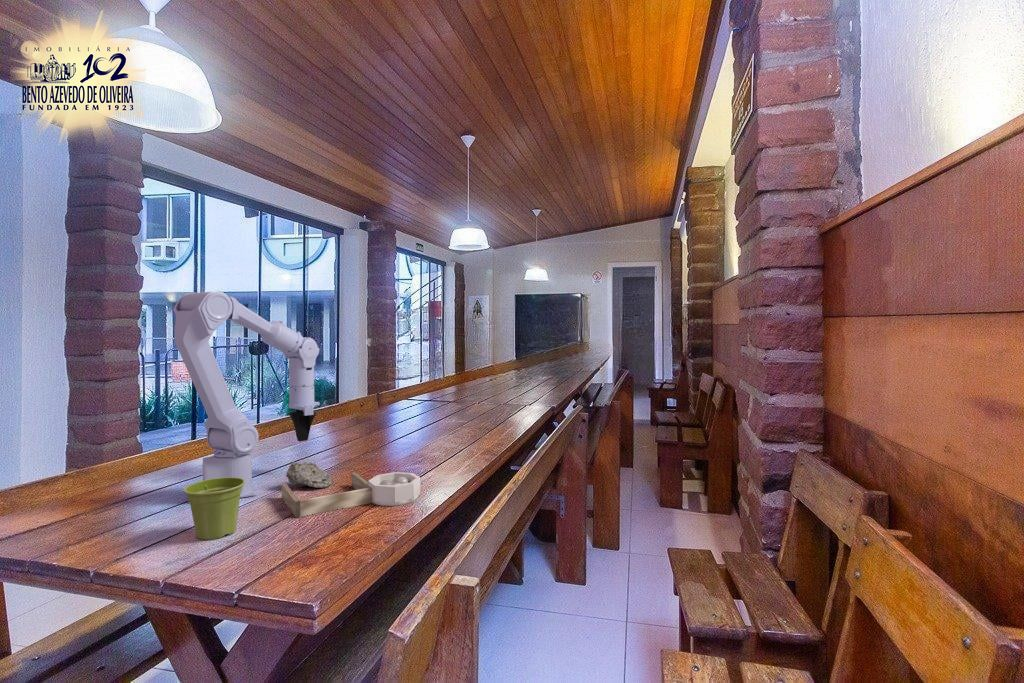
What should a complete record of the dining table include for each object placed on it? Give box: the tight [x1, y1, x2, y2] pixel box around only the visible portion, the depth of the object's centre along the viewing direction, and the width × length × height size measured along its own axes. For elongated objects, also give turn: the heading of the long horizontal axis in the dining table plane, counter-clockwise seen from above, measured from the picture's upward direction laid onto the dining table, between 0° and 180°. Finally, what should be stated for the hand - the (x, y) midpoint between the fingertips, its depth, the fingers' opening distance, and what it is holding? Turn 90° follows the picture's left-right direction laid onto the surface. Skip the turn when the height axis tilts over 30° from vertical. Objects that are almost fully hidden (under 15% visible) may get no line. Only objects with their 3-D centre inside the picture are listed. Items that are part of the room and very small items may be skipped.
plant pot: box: [183, 477, 245, 541], centre depth 90 cm, size 9×9×9 cm
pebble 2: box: [394, 477, 408, 484], centre depth 111 cm, size 3×3×3 cm
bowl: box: [367, 471, 421, 507], centre depth 109 cm, size 10×10×4 cm
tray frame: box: [281, 471, 373, 519], centre depth 108 cm, size 16×14×3 cm
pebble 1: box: [379, 480, 393, 485], centre depth 109 cm, size 3×3×3 cm
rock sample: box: [284, 461, 334, 489], centre depth 117 cm, size 10×8×9 cm
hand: (302, 440), depth 127 cm, fingers closed
